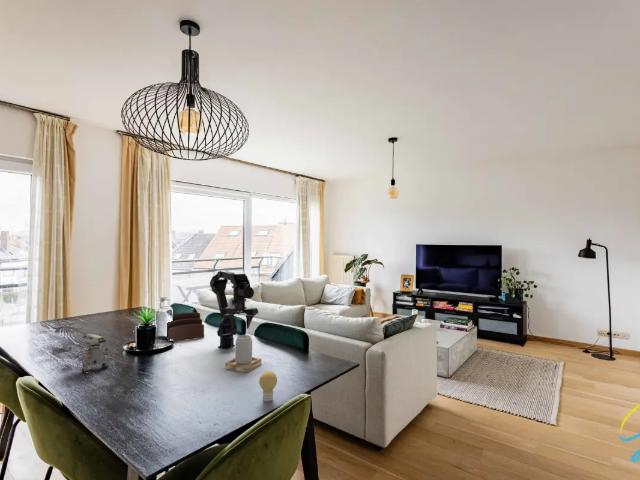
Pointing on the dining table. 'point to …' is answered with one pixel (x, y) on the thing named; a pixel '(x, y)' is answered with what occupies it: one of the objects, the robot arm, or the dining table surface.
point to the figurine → (94, 352)
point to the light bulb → (268, 385)
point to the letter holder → (185, 326)
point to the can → (243, 350)
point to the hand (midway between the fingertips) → (239, 328)
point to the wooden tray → (243, 368)
